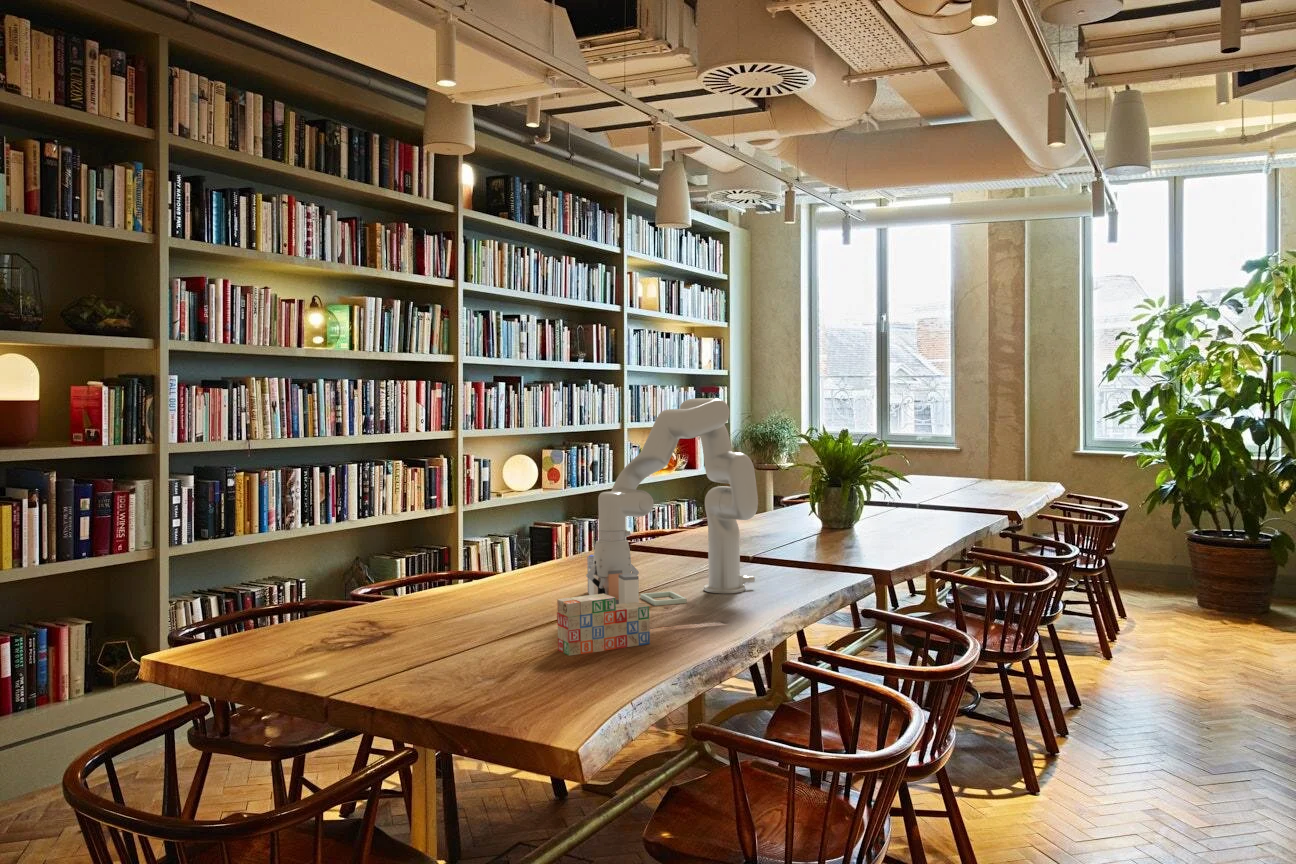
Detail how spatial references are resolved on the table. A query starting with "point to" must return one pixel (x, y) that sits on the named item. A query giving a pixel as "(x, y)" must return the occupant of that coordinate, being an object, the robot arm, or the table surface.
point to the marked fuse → (612, 584)
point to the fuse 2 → (628, 588)
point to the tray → (650, 596)
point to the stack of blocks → (600, 624)
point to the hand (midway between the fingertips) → (613, 600)
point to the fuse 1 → (592, 584)
